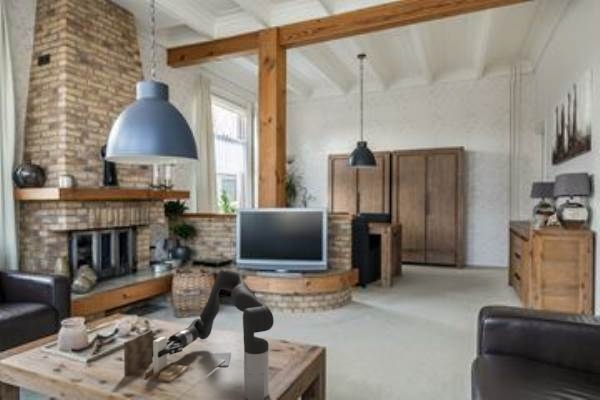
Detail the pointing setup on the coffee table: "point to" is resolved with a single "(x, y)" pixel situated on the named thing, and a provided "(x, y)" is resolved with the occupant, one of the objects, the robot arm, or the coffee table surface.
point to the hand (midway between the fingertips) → (155, 354)
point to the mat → (219, 356)
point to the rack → (148, 361)
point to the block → (157, 361)
